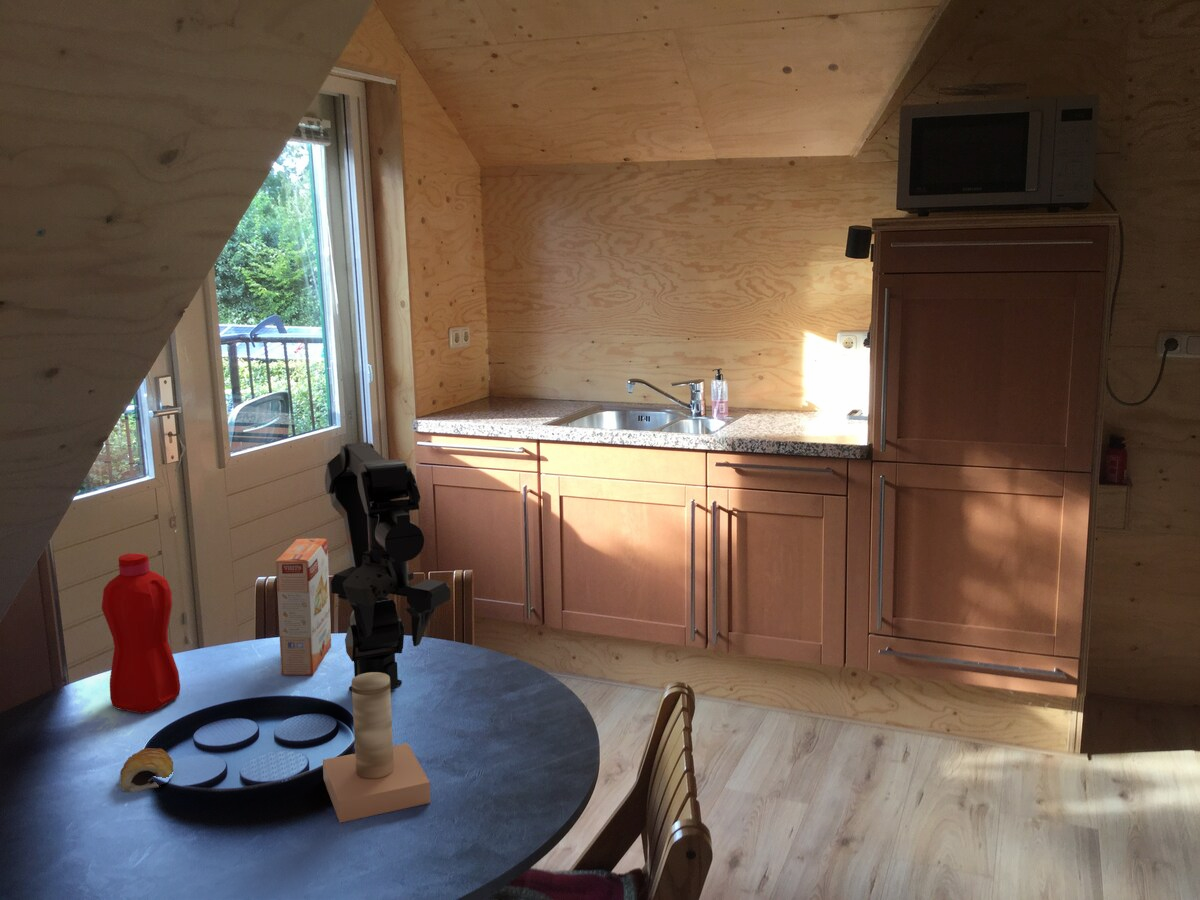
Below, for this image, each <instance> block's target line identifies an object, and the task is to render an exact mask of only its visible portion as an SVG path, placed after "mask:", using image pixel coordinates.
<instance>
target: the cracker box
mask: <svg viewBox="0 0 1200 900" xmlns="http://www.w3.org/2000/svg"><path fill="white" fill-rule="evenodd" d="M328 544H329V543H328V538H321V537H320V538H319V537H318V538H317V537H316V538H296V539H295V541H294V542H293V543H292V544H291V545H289V547H287V549H286V550H285V551H284V552H283V553H282V554H281V555H280V556H279V557H278V558H277V559H276V560H275V569H276V570H275V572H276V573H275V574H276V589H277V590H276V591H277V609H278V610H277V611H278V613H277V614H278V631H279V649H280V652H279V653H280V671H281V676H313V675H314V674H315V673H316V671H317V669H318V667H319V666H320V664H321V663H322V661H323V659H324V658H325V656H326V655H327V653H328V651H329V650H330V648H331V647H332V632H331V627H332V625H331V603H330V601H331V598H330V577H329V575H330V573H329V552H328V551H329V549H328V547H329V546H328Z"/></svg>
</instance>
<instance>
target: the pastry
mask: <svg viewBox="0 0 1200 900" xmlns="http://www.w3.org/2000/svg"><path fill="white" fill-rule="evenodd" d="M173 771H174V761H173V760H172V757H171V756H170V754H168V753H167V752H166V750H164V749H163V748H160V747H159V748H150V747H146V748H143V749H141V750H139V751H138V752H136V753H133V754H132V755H131V756H129V757H128V758H127V759H126V761H125V762H124V764H123V767H122V768H121V770H120V772H119V773H120V774H119V777H120V782H119V785H118V786H119V788H120V789H121V790H122V791H124V792H126V793H135V792H140V791H145V790H149V789H155V788H160V787H159V785H158V784H157V783H156V782H154V781H153V779H152V777H153V776H156V777H162V778H166V777H169V775H170V774H172V772H173Z"/></svg>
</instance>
